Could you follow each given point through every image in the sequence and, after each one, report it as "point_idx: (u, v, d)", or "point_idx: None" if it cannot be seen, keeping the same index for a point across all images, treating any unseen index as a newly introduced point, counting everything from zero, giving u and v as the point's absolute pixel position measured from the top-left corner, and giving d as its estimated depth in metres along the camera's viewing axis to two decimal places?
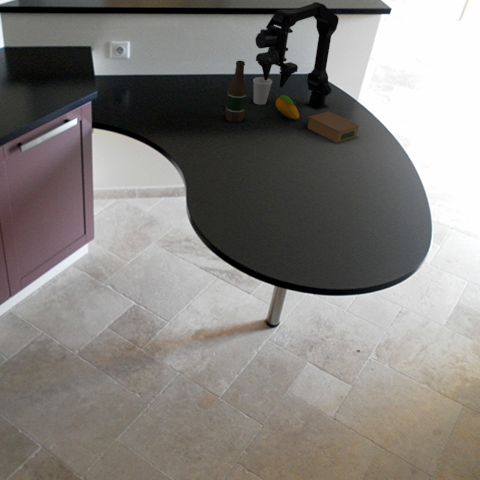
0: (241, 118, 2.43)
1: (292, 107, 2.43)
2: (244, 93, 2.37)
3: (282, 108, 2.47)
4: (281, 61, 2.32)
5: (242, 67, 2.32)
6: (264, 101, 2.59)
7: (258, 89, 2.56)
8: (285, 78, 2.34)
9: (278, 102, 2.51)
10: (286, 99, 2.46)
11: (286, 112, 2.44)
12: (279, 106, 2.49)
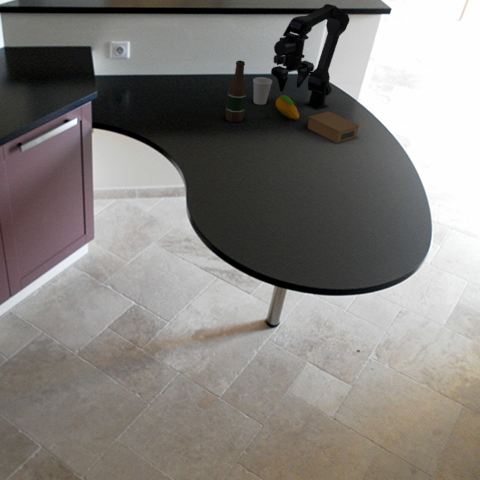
0: (241, 118, 2.43)
1: (292, 107, 2.43)
2: (244, 94, 2.37)
3: (282, 108, 2.47)
4: (287, 66, 2.36)
5: (242, 67, 2.32)
6: (264, 101, 2.59)
7: (258, 89, 2.56)
8: (281, 83, 2.38)
9: (278, 102, 2.51)
10: (286, 99, 2.46)
11: (286, 112, 2.44)
12: (279, 106, 2.49)
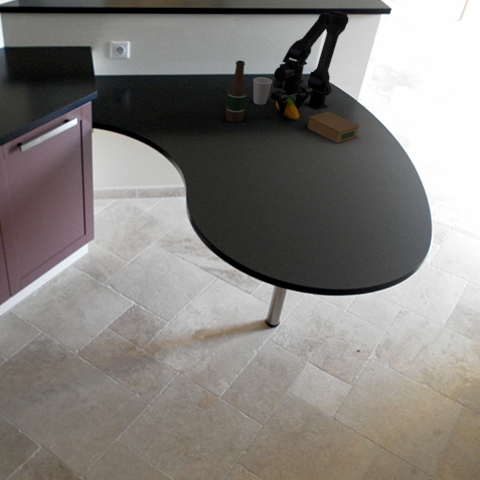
0: (241, 118, 2.43)
1: (292, 107, 2.43)
2: (244, 93, 2.37)
3: None
4: (287, 91, 2.43)
5: (242, 67, 2.32)
6: (264, 101, 2.59)
7: (258, 89, 2.56)
8: (281, 106, 2.44)
9: None
10: None
11: (286, 112, 2.44)
12: None
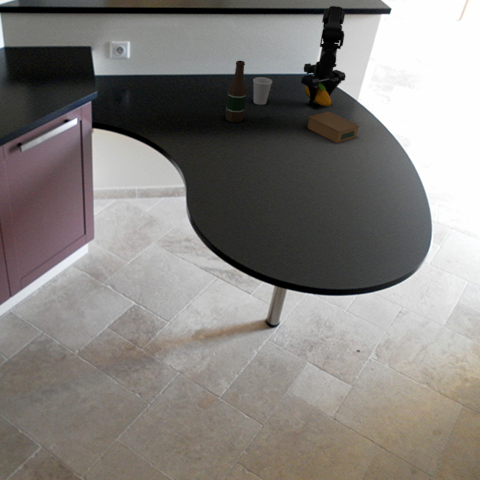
0: (241, 118, 2.43)
1: (324, 93, 2.30)
2: (244, 93, 2.37)
3: None
4: (318, 75, 2.29)
5: (242, 67, 2.32)
6: (264, 101, 2.59)
7: (258, 89, 2.56)
8: (312, 92, 2.31)
9: None
10: None
11: (317, 98, 2.31)
12: None
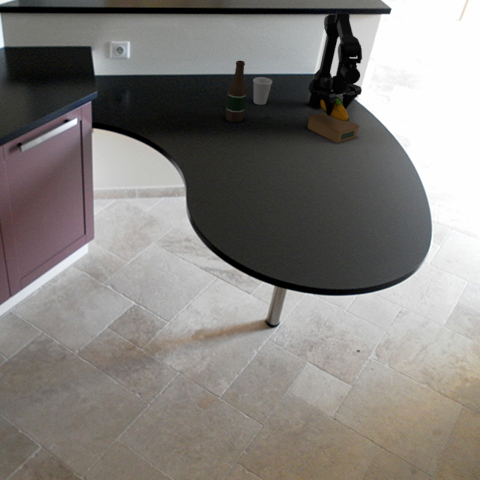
0: (241, 118, 2.43)
1: (340, 107, 2.27)
2: (244, 93, 2.37)
3: None
4: (335, 90, 2.26)
5: (242, 67, 2.32)
6: (264, 101, 2.59)
7: (258, 89, 2.56)
8: (328, 106, 2.28)
9: None
10: None
11: (334, 113, 2.28)
12: (325, 106, 2.33)
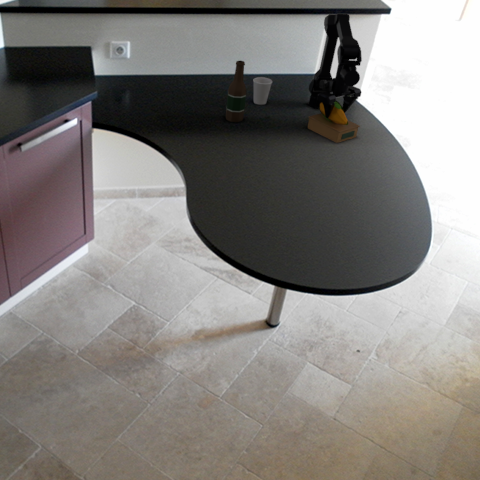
0: (241, 118, 2.43)
1: (339, 111, 2.28)
2: (244, 93, 2.37)
3: None
4: (334, 92, 2.27)
5: (242, 67, 2.32)
6: (264, 101, 2.59)
7: (258, 89, 2.56)
8: (327, 109, 2.28)
9: (323, 106, 2.35)
10: None
11: (333, 117, 2.29)
12: (324, 110, 2.34)
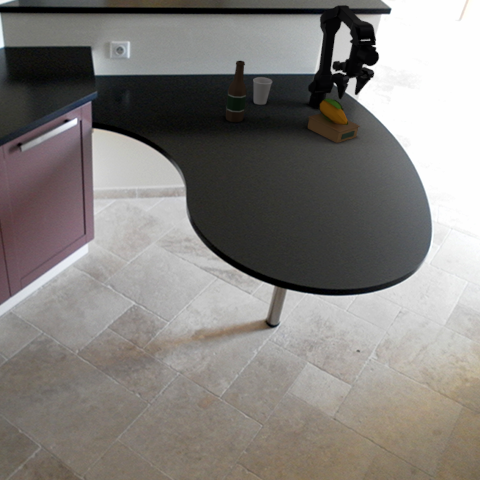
0: (241, 118, 2.43)
1: (339, 111, 2.28)
2: (244, 93, 2.37)
3: (328, 112, 2.32)
4: (348, 73, 2.29)
5: (242, 67, 2.32)
6: (264, 101, 2.59)
7: (258, 89, 2.56)
8: (340, 90, 2.30)
9: (323, 106, 2.35)
10: (332, 103, 2.31)
11: (333, 117, 2.29)
12: (324, 110, 2.34)
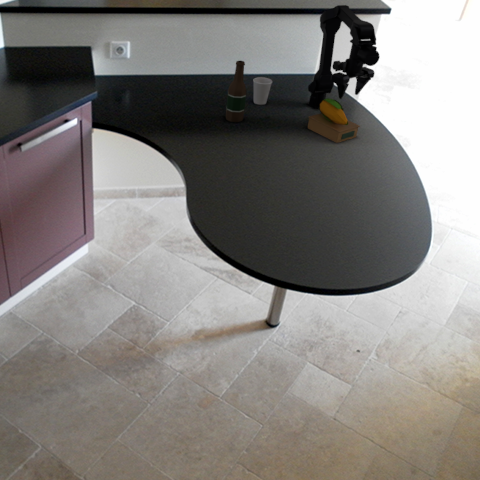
0: (241, 118, 2.43)
1: (339, 111, 2.28)
2: (244, 94, 2.37)
3: (328, 112, 2.32)
4: (348, 73, 2.29)
5: (242, 67, 2.32)
6: (264, 101, 2.59)
7: (258, 89, 2.56)
8: (341, 89, 2.30)
9: (323, 106, 2.35)
10: (332, 103, 2.31)
11: (333, 117, 2.29)
12: (324, 110, 2.34)
